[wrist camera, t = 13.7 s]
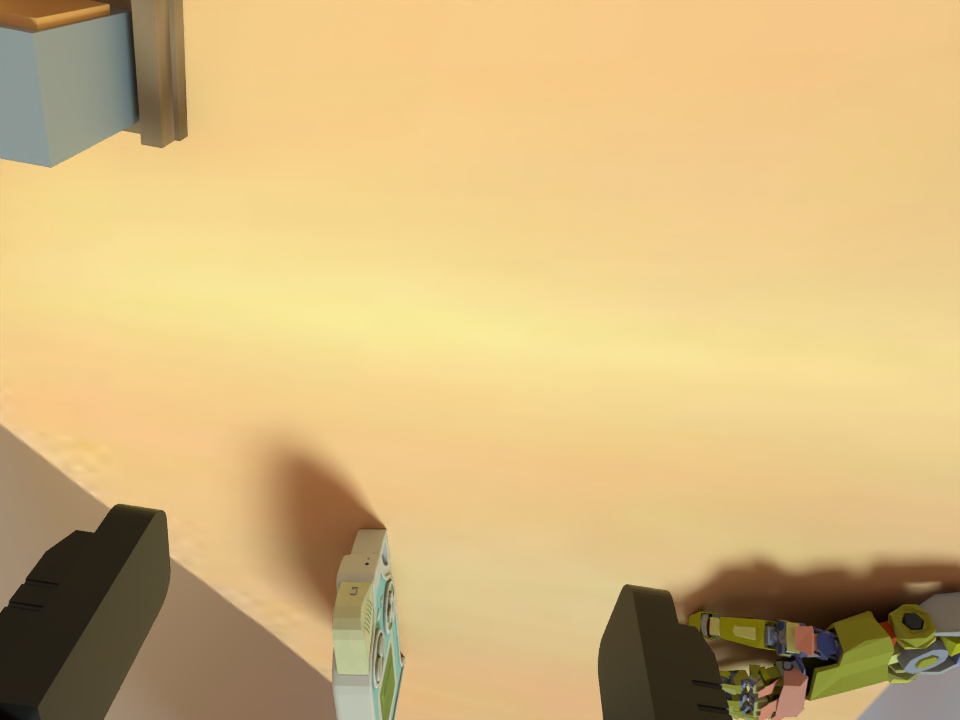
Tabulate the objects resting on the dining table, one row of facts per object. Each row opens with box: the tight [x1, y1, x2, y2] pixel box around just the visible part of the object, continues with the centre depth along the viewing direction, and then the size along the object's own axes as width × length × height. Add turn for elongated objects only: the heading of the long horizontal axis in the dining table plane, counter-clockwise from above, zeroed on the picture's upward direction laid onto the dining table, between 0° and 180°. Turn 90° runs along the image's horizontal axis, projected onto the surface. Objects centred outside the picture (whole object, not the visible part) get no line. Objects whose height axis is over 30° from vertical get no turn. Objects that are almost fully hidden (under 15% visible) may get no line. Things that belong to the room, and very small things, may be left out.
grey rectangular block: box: [0, 0, 140, 168], centre depth 31 cm, size 5×3×8 cm, turn 170°
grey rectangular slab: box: [332, 529, 405, 720], centre depth 50 cm, size 11×3×15 cm
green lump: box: [688, 592, 960, 720], centre depth 54 cm, size 12×7×25 cm
